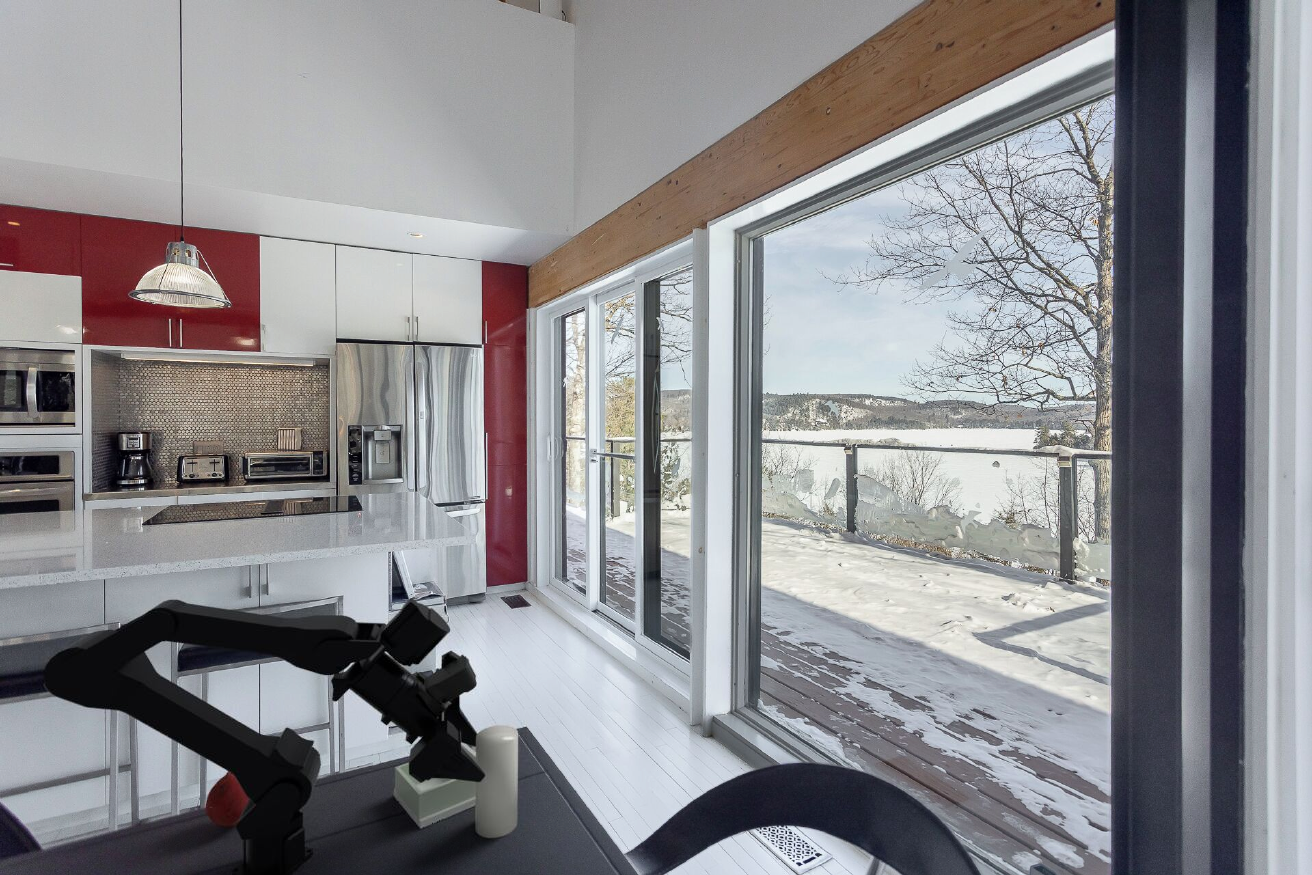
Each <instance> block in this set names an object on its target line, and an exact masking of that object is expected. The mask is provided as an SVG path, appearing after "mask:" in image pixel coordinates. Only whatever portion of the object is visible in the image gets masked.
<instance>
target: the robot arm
mask: <svg viewBox="0 0 1312 875" xmlns="http://www.w3.org/2000/svg"><path fill="white" fill-rule="evenodd" d="M450 627H451V626H450V625H449V624H448V622H447V621H446V620H445V619H444V618H443V617H442V616H441V614H439V613H438V612H437V611H436V610H435V609H434V608H429V607H428V606H427V605H425V604H423V603H421V602H418V601H416V600H415V599H414V598H411V597H410V598H409V599H408V600H407V601H406V602H405V603H404V604H403V605H402V607H401V608H400V611H398V612H397V613H396V614H395V615H394V616H393V617H392V618H391V619H390V620H389V621H388V623H387V624H386V623H385V622H361V621H356V620H355V619H354V618H352V617H350V616H348V615H343V614H342V615H339V614H337V615H335V614H331V615H330V614H329V615H327V614H326V615H325V614H322V615H318V614H317V615H316V614H315V615H310V616H309V615H308V616H303V617H292V618H291V617H281V616H280V617H279V616H274V615H273V616H272V615H267V614H260V613H254V612H249V611H248V612H247V611H240V610H233V609H227V608H222V607H221V608H220V607H213V606H207V605H201V604H194V603H189V602H185V601H182V600H181V599H168V600H164V601H161V603H159V604H157V605H155V606H154V607H152V608H151V609H150V610H148V611H146V612H145V613H143V614H141V615H140V616H138V617H136V618H134V619H132V620H130V621H129V622H127V623H125V624H124V625H123V624H122V626H119V627H118V628H116V629H104V630H96V631H94V632H91V633H89V634H86V635H85V636H83V637H82V638H79V640H76V641H75V642H73V643H72V644H70V645H69V646H67V647H65V648H63V649H61V650H60V651H58V652H57V653H56V654H55V655H53V656H52V657H51V658H50V659H49V660H48V662H47V663H46V665H45V666H44V670H43V680H44V683H43V687H44V688H45V690H46V691H47V692H48V693H49V694H51V695H52V696H53V697H56V698H59V699H60V700H63V701H67V702H69V703H72V704H75V705H78V706H81V707H83V708H85V709H86V708H89V709H99V710H106V711H108V710H109V711H118V712H122V713H124V714H126V715H128V716H130V717H131V718H133V719H135V720H137V721H139V722H140V723H142V724H143V725H145V726H147V727H149V728H151V729H152V730H154V731H155V732H158V733H160V734H161V735H163V736H165V737H167V738H169V739H170V740H172V741H174V742H175V743H178V744H179V745H181V746H182V747H185V748H187V750H189V751H191V752H193V753H195V754H197V755H198V756H201V757H202V758H204V759H206V760H208V762H209V761H210V762H211V763H213V764H215V765H216V766H218V767H220V768H222V769H224V770H225V771H226V772H228V771H229V772H230V773H232V774H233V775H234V776H235V778H236V780H237V781H238V783H239V785H240V786H241V788H242V790H243V791H244V793H245V795H246V796H247V797H248V798H249V801H248V803H247V805H246V807H245V809H244V810H243V812H242V814H241V816H240V818H239V820H238V822H237V824H236V825H235V828H236V831H237V833H238V835H239V837H240V840H241V841H242V862H241V863H239V864H238V865H237V866H236V867H233V869H232V870H231V872H230V873H231V875H289V874H290V873H291V872H292V871H294V870H295V869H296V868H298V867H299V866H300V865H301V864H303V863H304V862H305V861H307V860H308V859H309V858H311V857H312V856H313V854H314V853H315V852H314V851H315V850H314V849H313V848H311V847H308V846H306V827H305V826H304V812H302V811H300V810H301V809H302V808H303V807H305V806H306V804H307V803H308V801H309V800H310V799H311V796H312V793H313V790H314V788H315V785H316V781H317V779H318V777H319V774H320V770H321V767H322V761H321V760H322V759H321V754H320V752H319V751H318V750H317V749H316V748H315V747H313V746H314V744H315V740H313V739H306V738H304V737H302V736H301V735H299V734H298V733H297V732H296V731H294V729H292V728H289V727H288V726H287V727H285V728H284V729H283V732H282V733H281V735H280V736H277V735H267V734H265V735H264V734H261V733H259V731H256V730H254V729H253V728H251V727H250V726H247V725H246V724H244V723H242V722H241V721H239V720H237V719H236V718H234V717H232V716H231V715H229V714H228V713H226V712H224V711H222V710H220V709H219V708H217V707H215V706H213V705H212V704H210V703H208V702H206V700H203V699H202V698H200V697H198V696H196V695H195V694H193V693H191V691H188V690H187V689H184V688H183V687H181V686H180V685H178V684H176V683H175V682H173V681H171V680H169V679H168V678H166V677H164V676H163V675H161V674H160V673H158V672H157V670H156V669H155V666H154V665H153V663H152V662H151V660H150V658H149V657H148V655H147V654H146V651H148V650H150V649H152V648H153V647H155V646H157V645H158V644H160V643H162V642H169V643H178V644H184V645H185V644H186V645H191V646H199V647H208V648H214V649H223V650H230V651H235V652H243V653H244V652H246V653H252V654H260V655H267V656H272V657H276V658H279V659H280V660H283V661H284V662H287V663H289V665H291V666H294V667H295V668H298V669H301V670H305V671H308V672H311V673H314V674H318V675H322V676H332V678H331V679H330V683H331V685H332V695H331V696H332V698H331V701H333V702H338V701H339V700H340V699H341V698H342V697H343V696H344V695H345V694H346V693H347V692H348V691H349V690H350V691H352V692H353V693H354V694H355V695H357V697H359V698H360V699H361V700H363V701H364V702H366V704H368V705H369V706H370V707H372V708H373V709H374V710H376V711H377V712H378V713H380V715H381V717H380V718H381V719H380V722H381V723H382V724H384V725H385V726H388V725H389V724H390V723H392V724H394V725H395V726H396V727H398V728H399V729H400V730H401V731H403V732H404V733H406V734H405V738H404V739H405V742H408V744H410V745H413V744H414V742H415V741H416V740H417V739H418V738H420V739H419V740H418V741H417V742H416V743H415V744H414V746H412V748H410V751H409V760H408V763H409V775H411V776H412V777H413V778H415V779H416V780H417V781H419V782H420V783H422V782H424V781H425V780H430V779H431V778H441V779H456V780H464V781H473V782H481V781H482V780H483V778H484V777H485V773H484V772H483V771H482V769H481V768H480V767H479V766H478V765H477V764H476V763H475V761H474V760H473V759H472V758H471V757H470V756H469V755H468V754H467V753H466V751H465V750H464V749H463V748H462V747H461V742H462V743H465V744H467V745H468V746H471V747H472V746H474V747H476V735H477V734H478V732H477V731H476V729H475V728H474V727H473V725H472V724H471V722H470V720H469V719H468V718H467V716H466V715H465V713H464V712H463V710H462V709H461V705H460V704H461V701H460V700H461V699H460V698H461V695H463V694H464V693H469V692H471V691H473V690H474V689H475V688H476V687H477V685H478V684H477V674H476V673H475V671H474V669H473V667H472V665H471V663H470V660H469V658H467V656H465V655H464V654H461V655H459V654H458V653H457V652H455V651H453V650H449V651H448V652H446V653H443V654H442V655H441V664H440V665H441V667H440V668H439V667H437V668H436V669H435V672H433V673H432V674H430V675H428V676H427V675H426V674H424V673H423V672H421V671H419V672H418V671H415V672H414V674H413V673H411V672H410V671H409V670H407V669H406V668H405V667H406V666H407V667H411V666H412V665H415V666H417V665H419V664H421V663H422V662H423V660H424V659H426V657H427V656H428V655H429V654H430V653H431V652H432V651H433V650H434V649H436V647H437V646H438V645H439V644H440V643H441V642H442V641H443V639H445V637H446V636H447V635H448V634H449V633H450V632H451V628H450ZM350 665H351V666H350ZM349 666H350V667H349ZM404 666H405V667H404ZM348 667H349V668H348ZM346 669H347V670H346ZM344 670H345V671H344Z"/></svg>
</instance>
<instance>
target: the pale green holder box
mask: <svg viewBox="0 0 1312 875" xmlns="http://www.w3.org/2000/svg"><path fill="white" fill-rule="evenodd" d="M461 747H462V748H463V749H464V750H465V751H466V753H467V754H468V755H469V756H470V757H471V758H472V759H473V760H474V761H475V763H476V747H474V746H471V747H470V745H468V744H465V743H462V742H461ZM393 797H394V798H395V800H396V801H397V802H398V801H399V802H398V803H399V804H400V806H402V808H403V809H404V810H405V811H406V813H407V814H408V815H409V816H410V818H411V819H412V820H413V821H414V822H415V824H416V825H417V826H418V828H420V829H424V828H426V827H428V826H431V825H433V824H435V823H437V821H438V822H439V820H440V821H442V819H443V820H445V819H447V818H449V817H452V816H454V815H456V814H459V813H462V812H464V811H465V810H468V809H470V808H473V807H475V805H476V782H473V781H464V780H456V779H441V778H431V779H430V780H425V781H424V782H422V783H420V782H419V781H417V780H416V779H415V778H413V777H412V776H411V775H409V762H406V763H403V764H401V765H398V766H395V767H394V789H393ZM432 823H433V824H432ZM423 827H424V828H423Z"/></svg>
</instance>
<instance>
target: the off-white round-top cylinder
mask: <svg viewBox="0 0 1312 875" xmlns="http://www.w3.org/2000/svg"><path fill="white" fill-rule="evenodd" d="M476 764H477V765H478V766H479V767H480V768H481V769H482V771H483V772H484V773H485V777H484V778H483V780H482V781H481V782H476V805H475V806H474V807H475V810H474V812H475V817H474V818H475V819H474V821H475V823H474V824H475V827H474V828H475V832H476V833H477V835H479V836H480V837H483V838H486V839H498V838H501V837H504V836H507V835H509V834H510V833H512V832H514V830H515V829H516V827H517V826H518V793H519V791H518V780H519V779H518V778H519V777H518V776H519V774H518V772H519V768H518V767H519V732H518V730H517V728H515V727H513V726H510V725H505V724H504V725H500V724H499V725H492V726H489V727H486V728H483V729H482V730H480V731H478V732H477V735H476Z"/></svg>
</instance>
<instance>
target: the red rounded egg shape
mask: <svg viewBox="0 0 1312 875" xmlns="http://www.w3.org/2000/svg"><path fill="white" fill-rule="evenodd" d="M248 801H249V798H248V797H247V796H246V795H245V793H244V791H243V790H242V788H241V786H240V785H239V783H238V781H237V780H236V778H235V776H234V775H233V774H232V773H230V772H229V771H226V773H225V775H223V776H222V777H221V778H219V780H218V781H216V783H215V784H214V785H213V786H212V787H211V789H210V790H209V792H208V794H207V796H206V801H205V812H206V815H207V816H208V818H209V820H211V822H212V823H214V824H216V825H219V826H225V827H236V824H237V822H238V820H239V818H240V816H241V814H242V812H243V810H244V809H245V807H246V805H247V803H248ZM210 807H212V808H210Z"/></svg>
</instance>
